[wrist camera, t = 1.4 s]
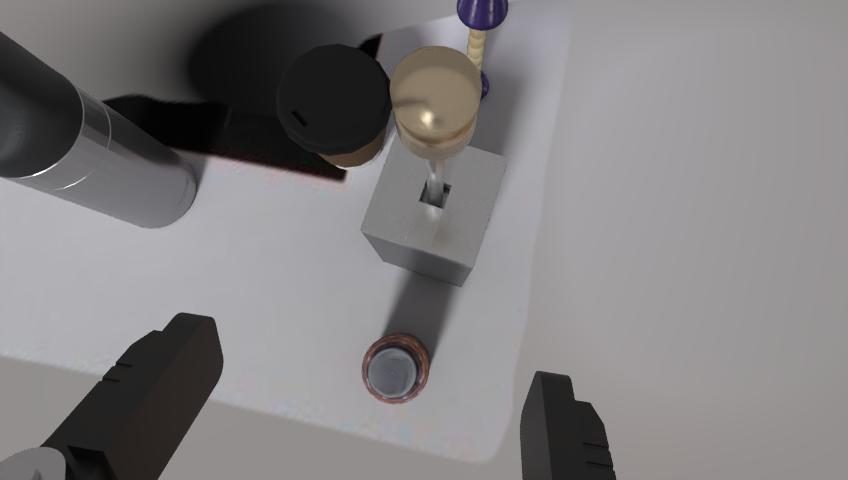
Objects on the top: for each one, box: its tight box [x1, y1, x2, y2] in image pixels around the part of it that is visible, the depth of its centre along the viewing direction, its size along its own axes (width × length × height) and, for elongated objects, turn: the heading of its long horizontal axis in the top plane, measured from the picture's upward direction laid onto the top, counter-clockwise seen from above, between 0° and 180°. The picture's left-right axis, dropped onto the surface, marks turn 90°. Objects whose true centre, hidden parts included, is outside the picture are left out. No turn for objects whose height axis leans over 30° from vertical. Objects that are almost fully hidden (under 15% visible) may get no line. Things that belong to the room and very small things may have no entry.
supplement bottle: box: [362, 333, 430, 404], centre depth 43 cm, size 6×6×11 cm
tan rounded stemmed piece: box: [390, 46, 482, 209], centre depth 28 cm, size 7×7×18 cm
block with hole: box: [360, 132, 509, 287], centre depth 43 cm, size 9×9×16 cm
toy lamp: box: [457, 0, 508, 100], centre depth 46 cm, size 5×5×17 cm
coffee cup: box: [276, 44, 392, 171], centre depth 47 cm, size 11×11×12 cm
